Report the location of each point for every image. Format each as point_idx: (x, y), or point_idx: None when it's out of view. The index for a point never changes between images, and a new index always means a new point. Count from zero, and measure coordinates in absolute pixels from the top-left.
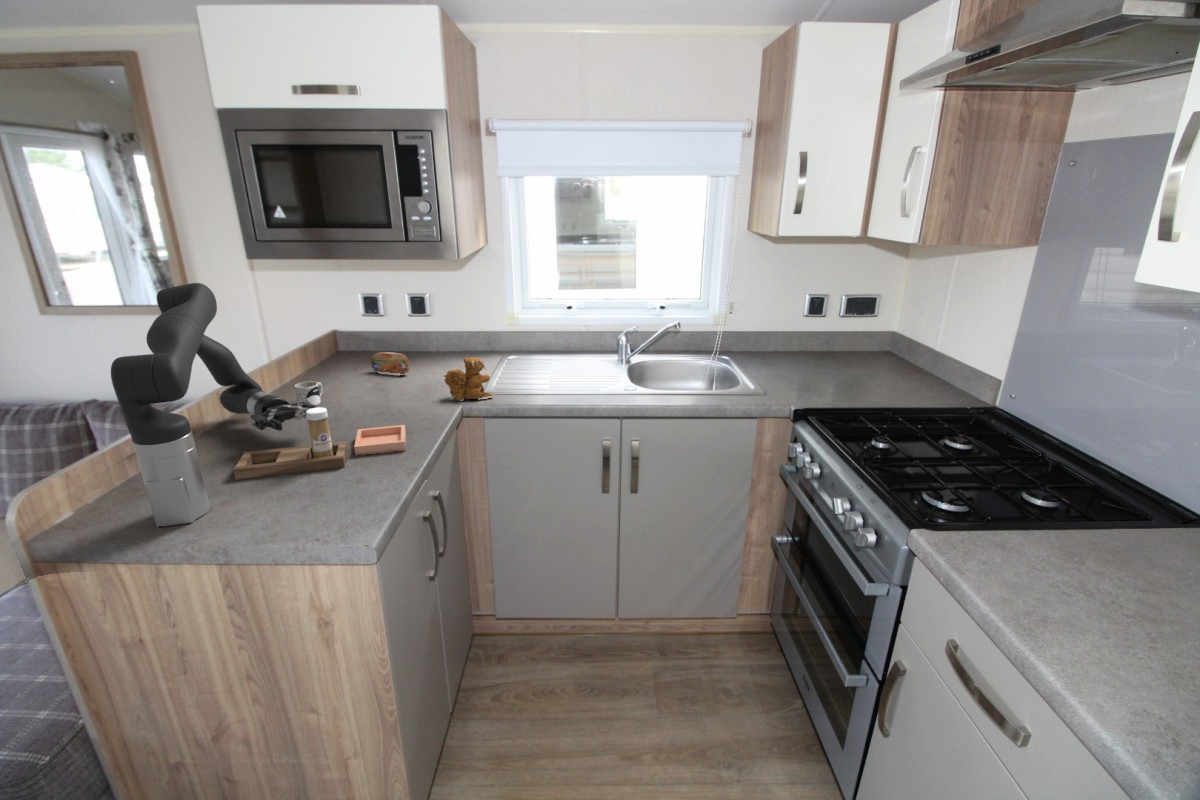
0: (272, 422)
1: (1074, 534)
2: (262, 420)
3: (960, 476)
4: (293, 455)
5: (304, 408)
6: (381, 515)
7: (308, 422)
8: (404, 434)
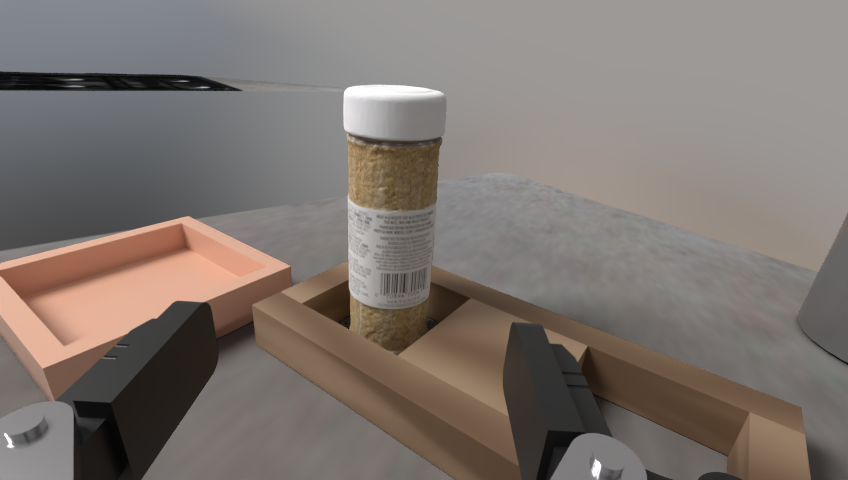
0: (578, 401)
1: (223, 82)
2: (708, 475)
3: (147, 83)
4: (498, 345)
5: (22, 461)
6: (458, 181)
7: (438, 153)
8: (114, 235)
